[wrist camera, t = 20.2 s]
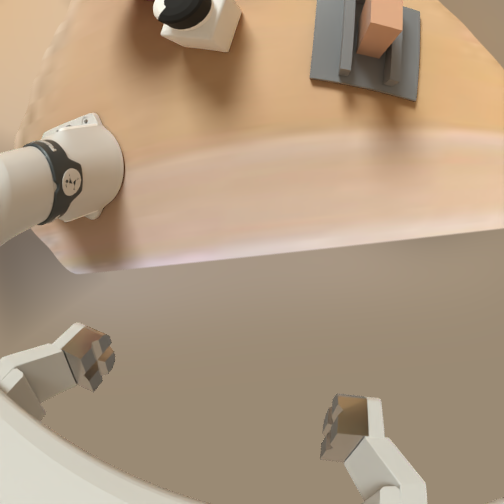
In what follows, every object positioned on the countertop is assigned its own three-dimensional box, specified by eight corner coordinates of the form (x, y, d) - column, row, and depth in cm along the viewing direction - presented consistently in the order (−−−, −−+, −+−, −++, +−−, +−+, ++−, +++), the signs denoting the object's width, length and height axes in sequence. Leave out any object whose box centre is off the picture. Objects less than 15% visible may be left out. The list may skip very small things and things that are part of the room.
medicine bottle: (243, 10, 30) (214, -27, 19) (229, 53, 33) (194, 27, 23) (196, 6, 31) (157, -25, 20) (183, 47, 34) (137, 26, 23)
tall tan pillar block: (356, 53, 29) (370, 22, 18) (358, 21, 27) (371, -18, 16) (378, 58, 29) (402, 30, 18) (380, 26, 27) (402, -10, 16)
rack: (309, 78, 33) (308, 71, 28) (318, -9, 27) (317, -25, 22) (413, 101, 31) (426, 98, 26) (417, 14, 25) (428, 1, 20)
